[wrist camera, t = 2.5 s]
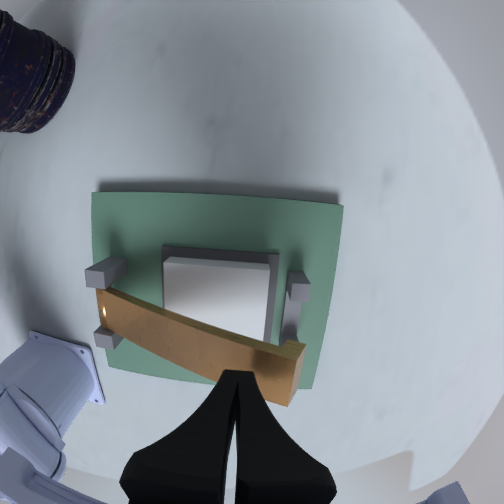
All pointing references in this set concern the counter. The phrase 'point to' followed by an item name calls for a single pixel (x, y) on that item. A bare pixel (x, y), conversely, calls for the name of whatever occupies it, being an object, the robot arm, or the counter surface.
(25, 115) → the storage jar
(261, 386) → the hold-down strap
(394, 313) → the counter surface
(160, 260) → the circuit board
